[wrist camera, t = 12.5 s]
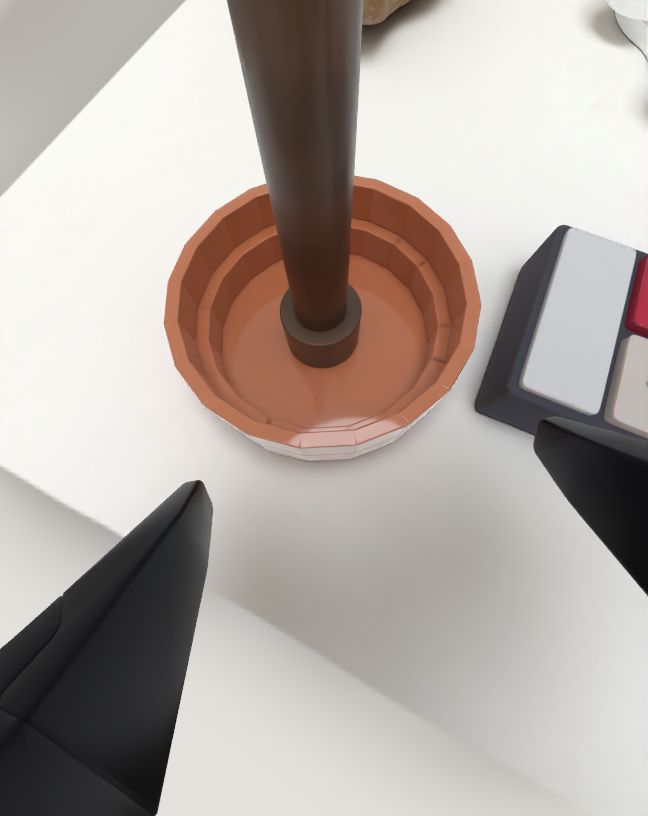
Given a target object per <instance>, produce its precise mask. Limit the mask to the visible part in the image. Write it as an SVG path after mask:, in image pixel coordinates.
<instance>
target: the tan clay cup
mask: <svg viewBox="0 0 648 816" xmlns="http://www.w3.org/2000/svg"><path fill="white" fill-rule="evenodd" d="M408 1H410V0H363V19H362V25H373V24H378V23H380V22H382V21H384V20H385V19H386V18H387V17H388V16H389V15H390V14H391V13H392V12H394V11H395V10H396V9H398V8H399V7H401V6H403V5H404V4H406V3H407V2H408Z"/></svg>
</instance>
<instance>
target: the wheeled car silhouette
mask: <svg viewBox="0 0 648 816" xmlns="http://www.w3.org/2000/svg"><path fill="white" fill-rule="evenodd" d="M606 1H607V4H608V5H609V6H610V7H611V8H612V9H613V10H614V11H615V16H616V19H617V22H618V24H619V26H620V28H621V29H622V31H623V32H624V34H625V35H626V36H627V37H628V38H629V39H630V40H631V41H632V42H633V43H634V44H636V45H637V46H638V47H639V48H640V49H641V50H642V52H643V53H644V54H645V56H646V58H647V59H648V0H606Z"/></svg>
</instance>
